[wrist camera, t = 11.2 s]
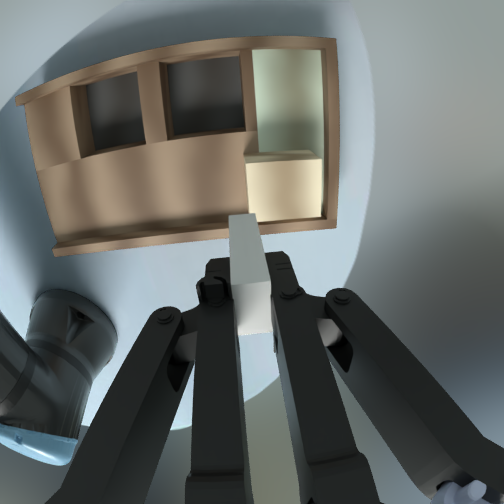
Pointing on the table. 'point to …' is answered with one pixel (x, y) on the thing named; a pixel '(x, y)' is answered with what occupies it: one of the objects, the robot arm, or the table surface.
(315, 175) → the block
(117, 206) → the track
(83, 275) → the table surface
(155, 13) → the table surface
